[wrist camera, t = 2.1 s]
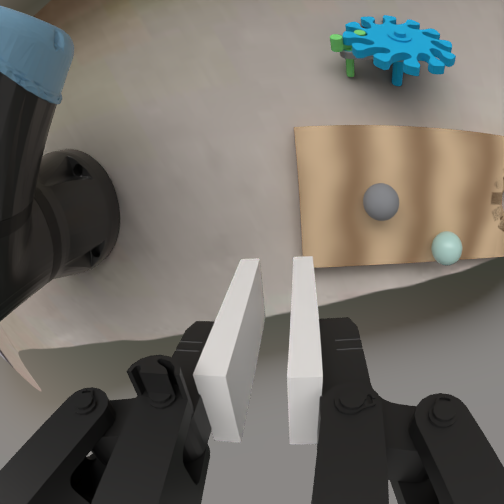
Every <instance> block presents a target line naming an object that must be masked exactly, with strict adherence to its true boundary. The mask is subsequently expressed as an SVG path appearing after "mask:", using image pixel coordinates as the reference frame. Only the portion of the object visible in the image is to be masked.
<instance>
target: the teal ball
mask: <svg viewBox="0 0 504 504" xmlns="http://www.w3.org/2000/svg"><path fill="white" fill-rule="evenodd" d="M431 250H432V255H433V257H434V258H435V260H436V261H437V262H438V263H440V264H442V265H452V264H454V263H455V262H457V261H458V260H459V258H460V256H461V254H462V243H461V240H460V239H459V237H458V236H457V235H456V234H454V233H453V232H450V231H444V232H441V233H439V234H438V235H437V236H436V237H435V238H434V240H433V242H432V246H431Z"/></svg>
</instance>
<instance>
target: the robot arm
mask: <svg viewBox="0 0 504 504" xmlns="http://www.w3.org/2000/svg"><path fill="white" fill-rule="evenodd" d="M73 55H74V45H73V41H72V39H71V38H70V36H69V35H68V34H67V33H66V32H64V31H63V30H61V29H59V28H57V27H55V26H53V25H51V24H49V23H47V22H44V21H42V20H39V19H37V18H35V17H32V16H29V15H27V14H24V13H21V12H18V11H15V10H12V9H9V8H6V7H3V6H0V321H1V320H3V319H4V318H5V317H6V316H7V315H8V314H10V313H11V312H12V311H13V310H14V309H16V308H17V307H18V306H19V305H21V304H22V303H23V302H24V301H25V300H27V299H28V298H29V297H30V296H32V295H33V294H34V293H36V292H37V291H38V290H39V289H41V288H42V287H43V286H44V285H46V284H47V283H48V282H50V281H51V280H52V279H55V278H60V277H64V276H69V275H74V274H79V273H83V272H86V271H88V270H90V269H92V268H93V267H95V266H96V265H97V264H99V263H100V262H101V261H103V260H104V259H105V258H106V257H107V256H108V255H109V254H110V252H111V251H112V249H113V247H114V245H115V242H116V240H117V236H118V232H119V223H120V215H119V205H118V200H117V196H116V193H115V190H114V187H113V185H112V183H111V180H110V179H109V177H108V175H107V173H106V172H105V171H104V169H103V168H102V167H101V165H100V164H99V163H98V162H97V161H96V160H95V159H93V158H92V157H91V156H89V155H88V154H86V153H84V152H81V151H78V150H74V149H65V150H60V151H55V152H51V153H48V154H46V155H44V156H43V151H44V147H45V143H46V140H47V136H48V132H49V129H50V125H51V122H52V118H53V115H54V112H55V109H56V105H57V104H60V103H61V100H62V95H61V92H62V89H63V86H64V83H65V79H66V76H67V73H68V71H69V68H70V65H71V62H72V59H73ZM264 321H265V307H264V297H263V287H262V277H261V267H260V258H257V259H241V260H240V262H239V265H238V267H237V270H236V272H235V274H234V277H233V279H232V282H231V284H230V286H229V289H228V291H227V293H226V296H225V298H224V301H223V303H222V305H221V308H220V310H219V313H218V315H217V317H216V320H215V322H210V321H196V322H195V323H194V324H193V325H191V326H190V327H189V328H188V329H187V330H186V331H185V333H184V335H183V337H182V339H181V342H180V343H179V344H178V346H177V349H176V351H175V352H174V354H173V356H172V358H171V357H169V356H163V355H154V356H149V357H145V358H142V359H140V360H138V361H137V362H135V363H134V364H132V365H131V367H130V368H129V369H128V371H127V373H128V375H129V378H130V380H131V382H132V384H133V386H134V388H135V391H136V393H137V395H138V396H137V398H132V399H122V400H110V401H109V399H108V397H107V395H106V393H105V392H103V391H102V390H100V389H97V388H84V389H81V390H79V391H77V392H75V393H74V394H73V395H71V396H70V397H69V398H68V399H67V400H66V401H65V402H64V403H63V404H62V405H61V406H60V407H59V408H58V409H57V410H56V411H55V412H54V413H53V415H51V417H50V418H49V419H48V420H47V421H46V422H45V423H44V424H43V425H42V426H41V427H40V429H38V430H37V431H36V432H35V433H34V435H33V436H32V437H31V438H30V439H29V440H28V441H27V442H26V443H25V444H24V445H23V446H22V448H21V449H20V450H19V451H18V452H17V453H16V454H15V455H14V456H13V457H12V458H11V460H9V462H8V463H7V464H6V465H5V466H4V467H3V468H2V469H1V470H0V504H201V500H202V495H203V490H204V485H205V479H206V474H207V469H208V463H209V459H210V449H209V446H208V444H207V443H208V439H209V436H210V433H211V432H212V435H213V438H214V440H215V441H224V442H236V443H241V441H242V436H243V431H244V426H245V421H246V416H247V411H248V406H249V401H250V396H251V390H252V385H253V380H254V375H255V370H256V365H257V359H258V354H259V348H260V343H261V338H262V332H263V326H264ZM287 387H288V388H287V389H288V410H289V411H288V412H289V440H290V445H293V444H295V445H296V444H317V458H316V468H315V477H314V485H313V494H312V501H311V504H389V498H388V497H389V495H388V480H390V482H391V484H392V487H393V490H394V493H395V496H396V499H397V502H398V504H504V467H503V465H502V464H501V462H500V460H499V459H498V457H497V455H496V453H495V452H494V450H493V448H492V447H491V445H490V443H489V442H488V440H487V438H486V437H485V435H484V433H483V432H482V430H481V429H480V427H479V426H478V424H477V423H476V421H475V419H474V418H473V416H472V415H471V413H470V412H469V410H468V408H467V407H466V405H464V403H463V402H461V400H460V399H458V398H456V397H454V396H452V395H449V394H442V393H439V394H433V395H429V396H428V397H426V398H424V399H422V400H421V402H420V403H419V404H418V405H417V406H408V405H401V404H395V403H391V402H389V401H386V400H384V399H382V398H381V397H380V396H379V395H378V393H376V392H375V391H374V390H373V388H372V386H371V383H370V378H369V374H368V369H367V365H366V360H365V356H364V352H363V349H362V343H361V340H360V335H359V331H358V327H357V326H356V325H355V324H354V323H353V322H352V321H351V319H350V318H348V317H346V318H327V319H319V316H318V304H317V294H316V284H315V274H314V265H313V256H304V257H293V278H292V301H291V322H290V340H289V357H288V371H287ZM90 451H92V453H93V454H92V455H90V456H88V457H86V456H87V455H88V453H89V452H90Z"/></svg>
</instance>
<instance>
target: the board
mask: <svg viewBox="0 0 504 504" xmlns="http://www.w3.org/2000/svg"><path fill="white" fill-rule="evenodd" d="M294 133H295V145H296V156H297V169H298V183H299V197H300V213H301V231H302V252H303V257H304V256H313V265H314V268H318V267H340V266H360V265H379V264H398V263H415V262H432V261H436V260H435V258H434V257H433V255H432V250H431V246H432V242H433V240H434V238H435V237H436V236H437V235H438V234H439V233H441V232H444V231H450V232H453V233H454V234H456V235H457V236H458V237H459V239H460V240H461V243H462V254H461V256H460V258H459V260H463V259H477V258H491V257H504V211H503V208H502V193H503V191H504V136H500V135H493V134H486V133H478V132H470V131H462V130H452V129H441V128H427V127H411V126H384V125H335V126H307V127H294ZM377 183H384V184H387V185H389V186H391V187H392V188H393V189H394V190H395V191H396V192H397V194H398V197H399V208H398V211H397V213H396V214H395V215H394V216H393V217H392V218H391V219H389V220H385V221H378V220H375V219H373V218H371V217H370V216H369V215H368V214H367V213H366V211H365V209H364V206H363V197H364V194H365V192H366V190H367V189H368V188H369V187H370V186H372V185H374V184H377Z"/></svg>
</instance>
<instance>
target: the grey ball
mask: <svg viewBox="0 0 504 504" xmlns="http://www.w3.org/2000/svg"><path fill="white" fill-rule="evenodd" d="M363 206H364V209H365V211H366V213H367V214H368V215H369V216H370V217H371V218H373V219H375V220H378V221H385V220H389V219H391V218H392V217H393V216H394V215H395V214H396V213H397V211H398V208H399V197H398V194H397V192H396V191H395V190H394V189H393V188H392V187H391V186H389V185H387V184H384V183H377V184H374V185H372V186H370V187H369V188H368V189H367V190H366V192H365V194H364V197H363Z"/></svg>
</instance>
